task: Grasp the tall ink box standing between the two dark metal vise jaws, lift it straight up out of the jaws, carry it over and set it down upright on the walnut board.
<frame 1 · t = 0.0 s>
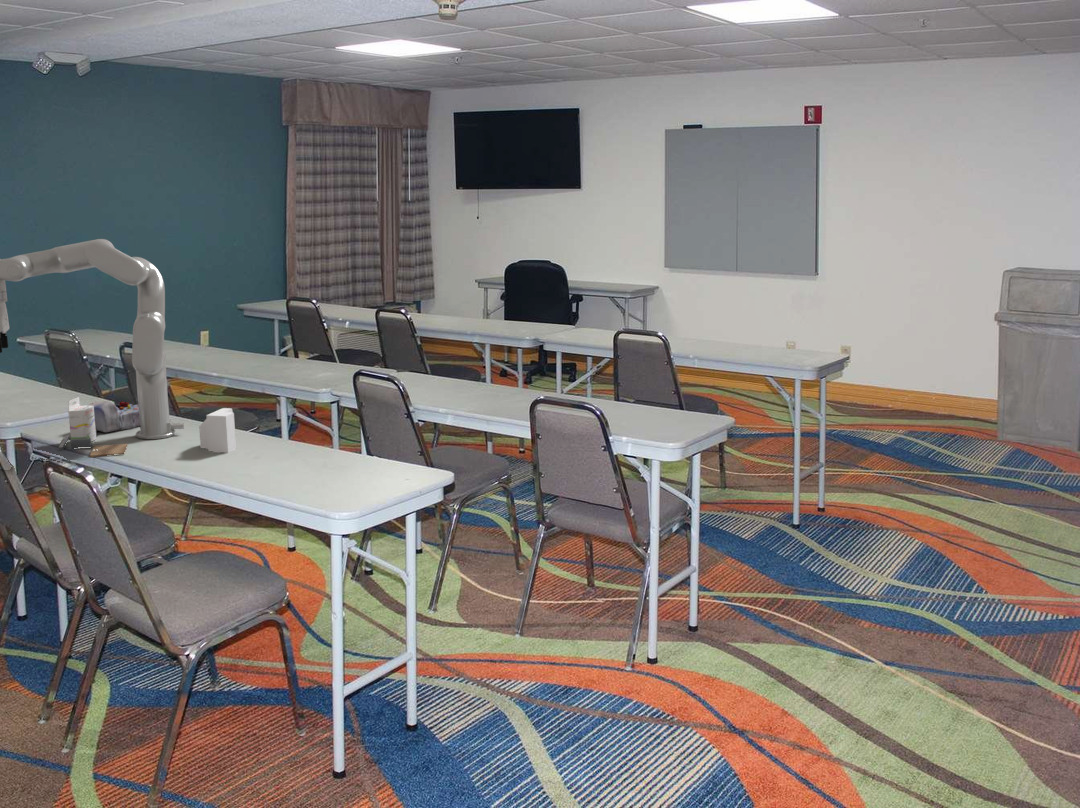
white chunky block: (220, 448, 341), on the table
vise jaws: (84, 442, 347), on the table
ink box: (84, 443, 347), on the table
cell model: (119, 428, 367), on the table
walnut board: (109, 451, 336), on the table
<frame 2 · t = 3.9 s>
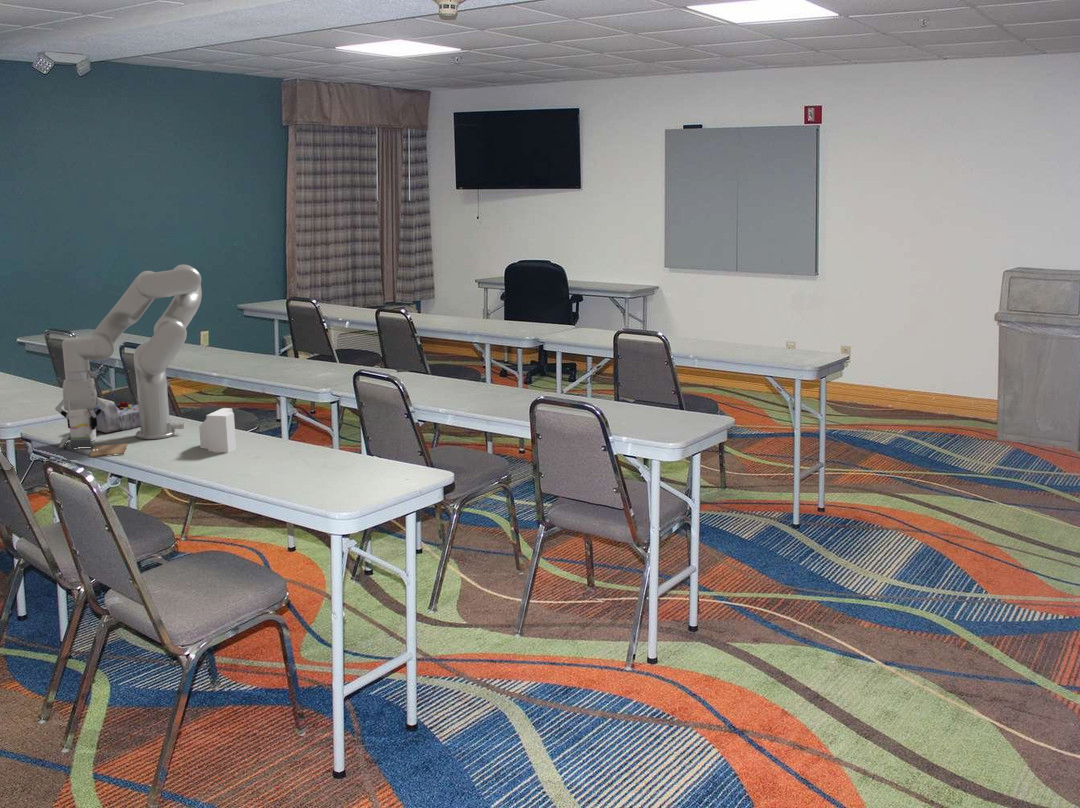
hand: (83, 429, 346), 5 cm above the table, fingers closed on ink box, 6 cm apart
ink box: (84, 443, 347), on the table, touching gripper
everything else where it was.
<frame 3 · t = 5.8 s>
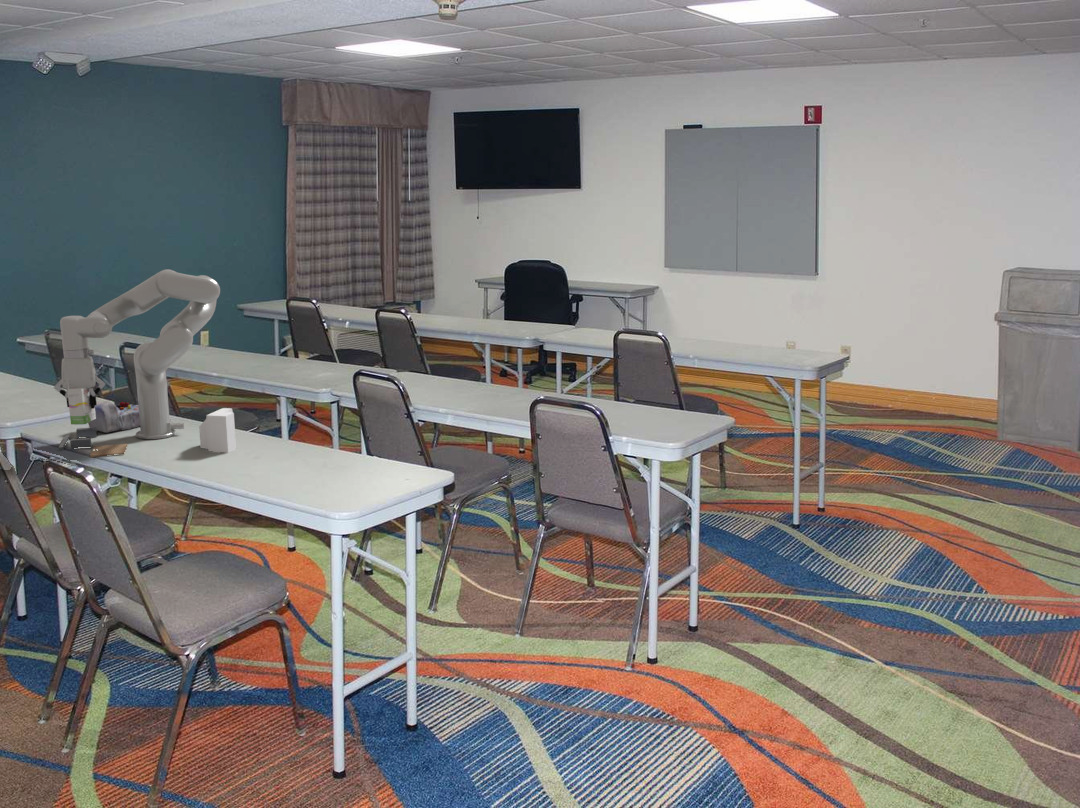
hand: (82, 407, 345), 12 cm above the table, fingers closed on ink box, 6 cm apart
ink box: (84, 422, 346), point 7 cm above the table, touching gripper
everything else where it was.
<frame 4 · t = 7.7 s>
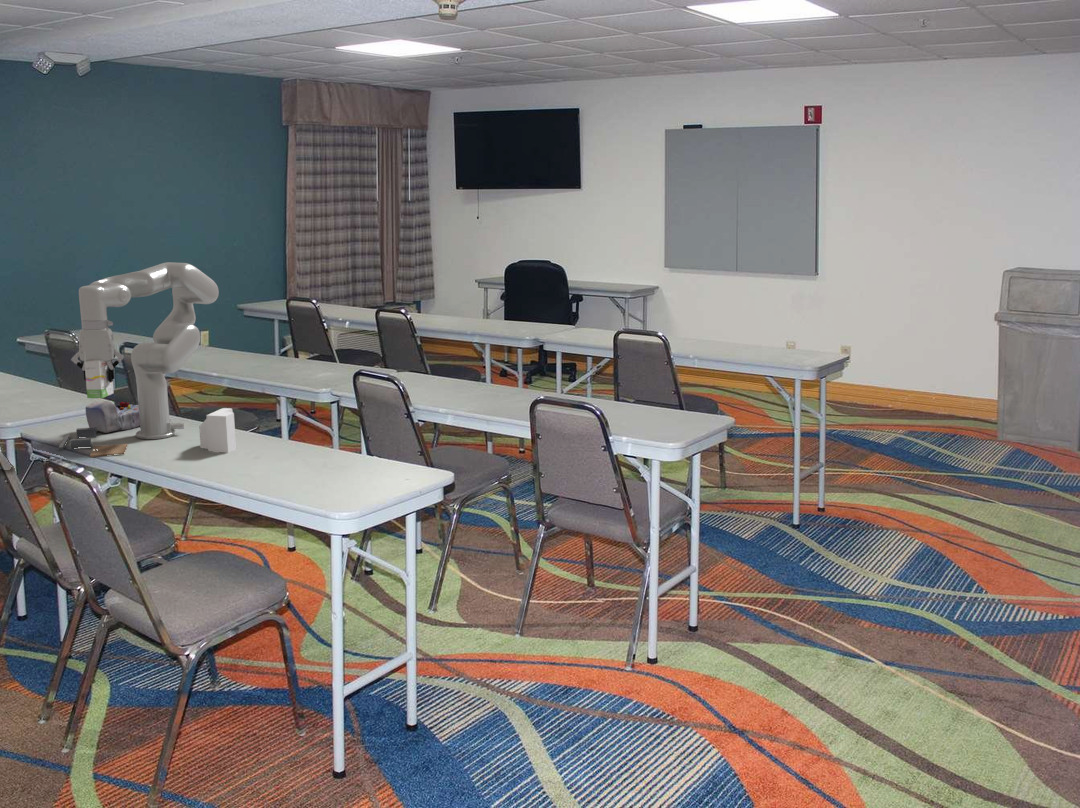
hand: (99, 381, 332), 23 cm above the table, fingers closed on ink box, 6 cm apart
ink box: (101, 396, 333), point 18 cm above the table, touching gripper
everything else where it was.
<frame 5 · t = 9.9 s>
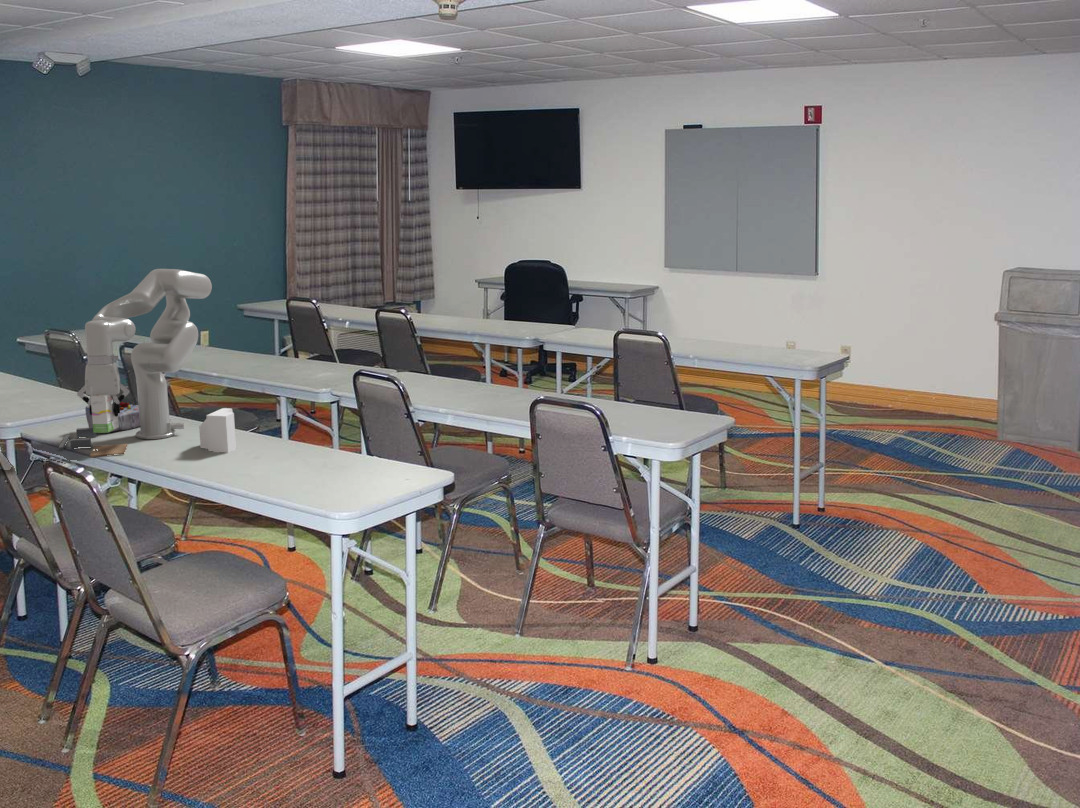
hand: (105, 415, 333), 12 cm above the table, fingers closed on ink box, 6 cm apart
ink box: (106, 430, 334), point 7 cm above the table, touching gripper
everything else where it was.
when the fingers open (6 cm above the table, at t = 12.0 s): ink box stays where it is, resting on walnut board.
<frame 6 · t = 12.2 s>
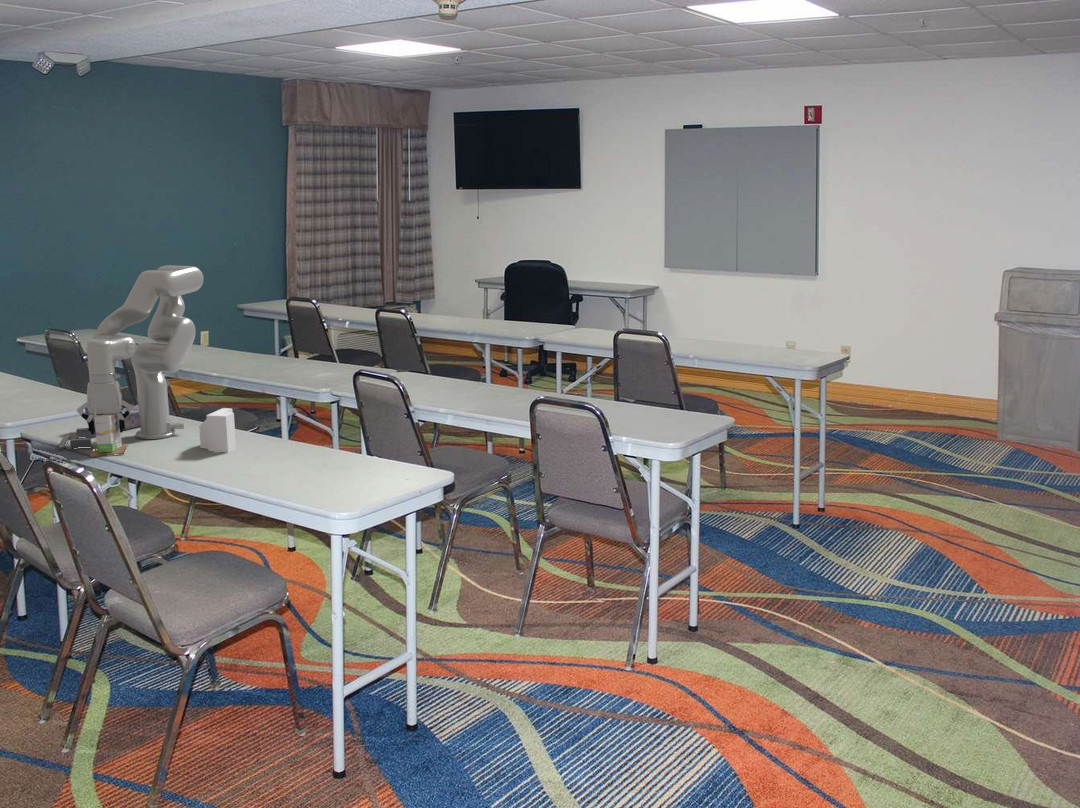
hand: (107, 432, 335), 6 cm above the table, fingers open, 8 cm apart
ink box: (110, 449, 336), resting on walnut board
everything else where it was.
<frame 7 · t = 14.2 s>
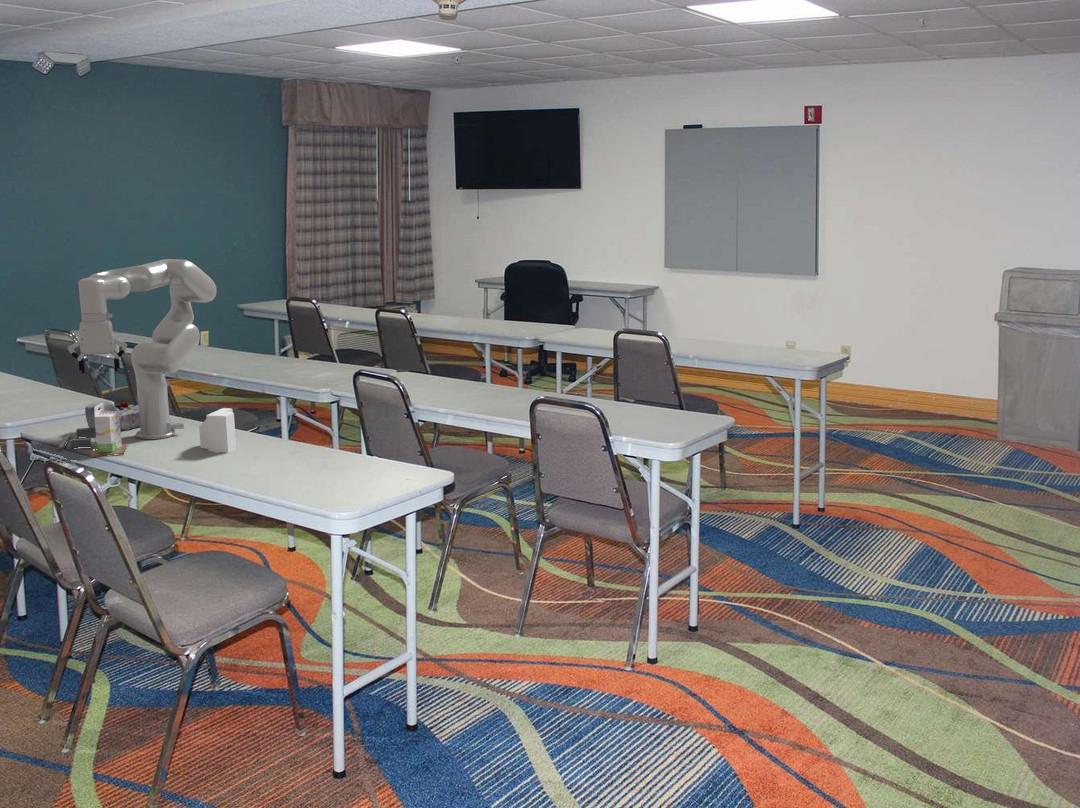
hand: (100, 371, 331), 26 cm above the table, fingers open, 9 cm apart
nothing on the table moved.
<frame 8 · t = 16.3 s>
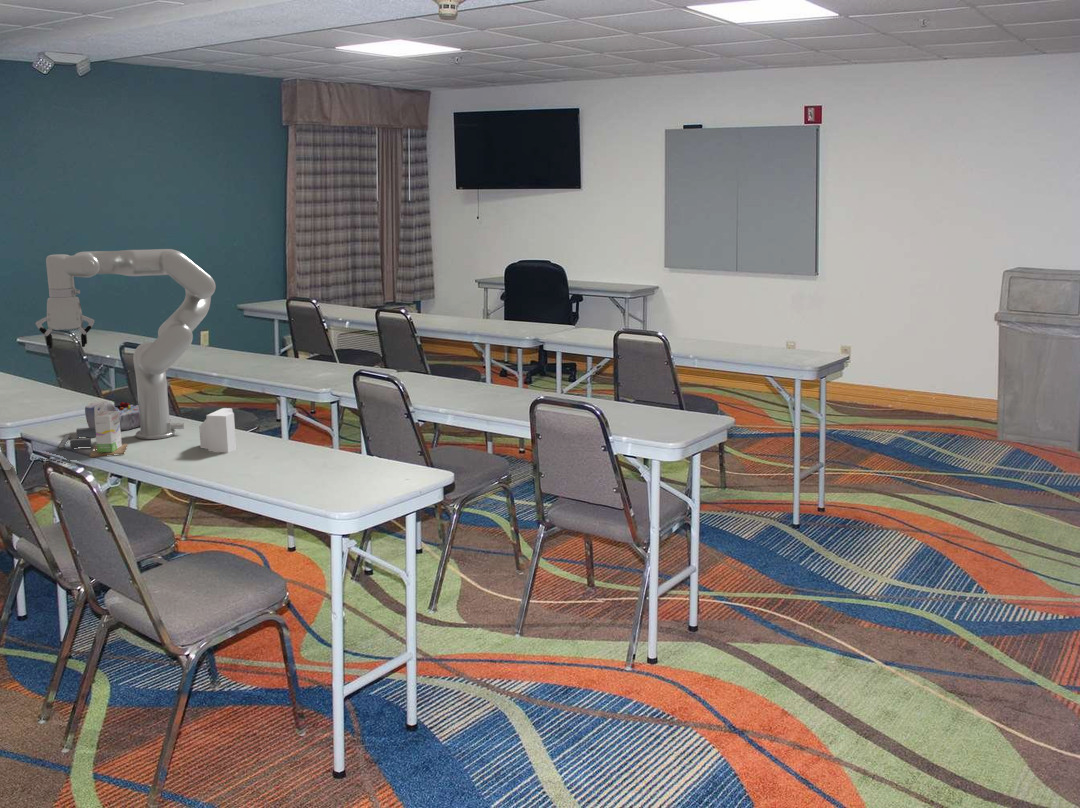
hand: (67, 347, 338), 32 cm above the table, fingers open, 9 cm apart
nothing on the table moved.
at the end: ink box inside the target area on the walnut board (0.3 cm from its centre), point 0.4 cm above the walnut board's base; ink box tilted 0°; the gripper is holding nothing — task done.
